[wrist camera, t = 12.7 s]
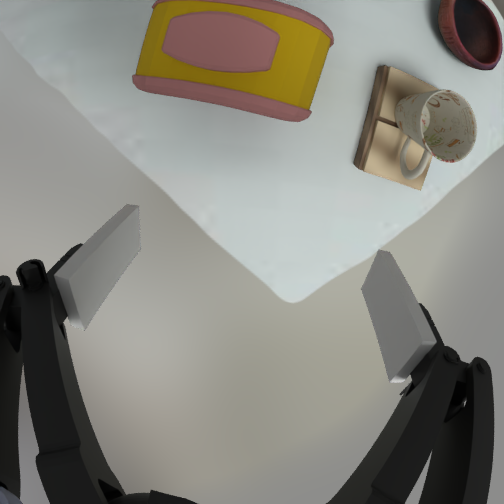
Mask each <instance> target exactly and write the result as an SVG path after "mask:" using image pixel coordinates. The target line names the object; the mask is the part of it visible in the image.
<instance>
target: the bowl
mask: <svg viewBox="0 0 504 504" xmlns="http://www.w3.org/2000/svg"><path fill="white" fill-rule="evenodd" d="M438 25H439V30H440V33H441V35H442V37H443V39H444V41H445V43H446V44H447V46H448V47H449V49H450V50H451V51H452V52H453V54H454V55H455V56H456V57H457V58H458V59H459V60H460V61H462V62H463V63H464V64H466V65H468V66H470V67H472V68H475V69H479V70H492V69H493V68H495V66H496V65H497V63H498V62H499V60H500V58H501V54H502V34H501V31H500V27H499V25H498V22H497V19H496V17H495V16H494V14H493V12H492V11H491V10H490V8H489V7H488V6H487V5H486V4H485V3H484V2H483V1H482V0H441V3H440V7H439V12H438Z"/></svg>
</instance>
